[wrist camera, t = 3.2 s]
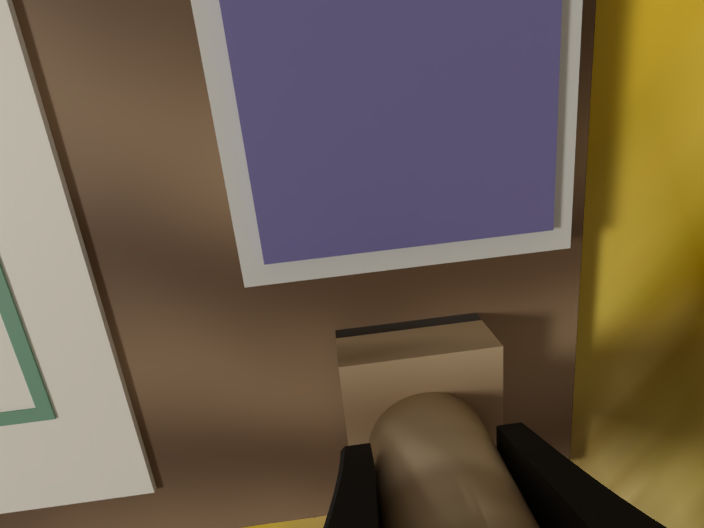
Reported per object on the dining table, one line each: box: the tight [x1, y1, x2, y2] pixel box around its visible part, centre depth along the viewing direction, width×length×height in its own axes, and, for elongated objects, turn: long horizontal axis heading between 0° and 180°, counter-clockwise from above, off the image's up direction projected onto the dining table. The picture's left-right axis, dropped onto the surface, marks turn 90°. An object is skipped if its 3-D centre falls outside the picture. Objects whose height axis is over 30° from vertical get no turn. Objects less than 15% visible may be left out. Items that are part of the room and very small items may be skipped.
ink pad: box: [191, 0, 583, 288], centre depth 10 cm, size 9×8×2 cm
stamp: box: [335, 313, 540, 528], centre depth 10 cm, size 5×4×7 cm
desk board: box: [0, 0, 596, 528], centre depth 12 cm, size 18×27×1 cm, turn 96°
